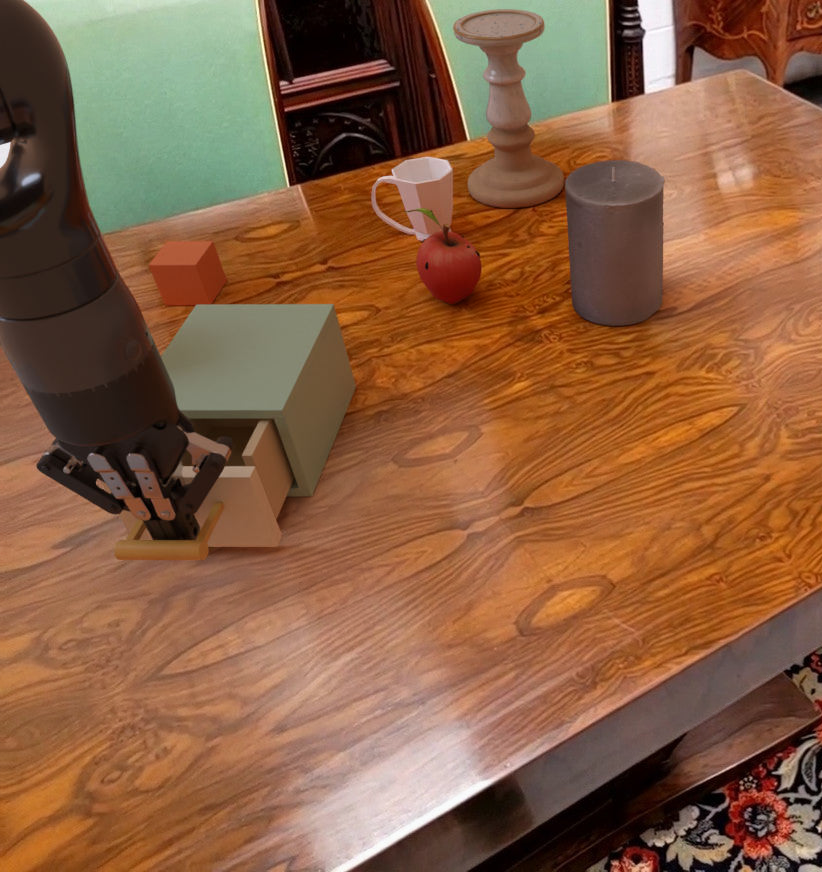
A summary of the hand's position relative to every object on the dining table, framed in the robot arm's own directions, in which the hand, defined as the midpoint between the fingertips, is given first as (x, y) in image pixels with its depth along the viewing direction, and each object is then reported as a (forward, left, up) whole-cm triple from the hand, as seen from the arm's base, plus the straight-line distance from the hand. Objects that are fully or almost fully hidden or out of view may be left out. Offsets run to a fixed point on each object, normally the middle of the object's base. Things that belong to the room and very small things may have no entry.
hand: (181, 544), depth 68 cm
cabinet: (0, +17, -4) cm, 17 cm away
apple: (+12, +40, -4) cm, 42 cm away
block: (-16, +41, -4) cm, 44 cm away
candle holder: (+16, +66, -4) cm, 68 cm away
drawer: (0, +7, -3) cm, 8 cm away
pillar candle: (+30, +39, -4) cm, 49 cm away
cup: (+6, +54, -4) cm, 54 cm away
